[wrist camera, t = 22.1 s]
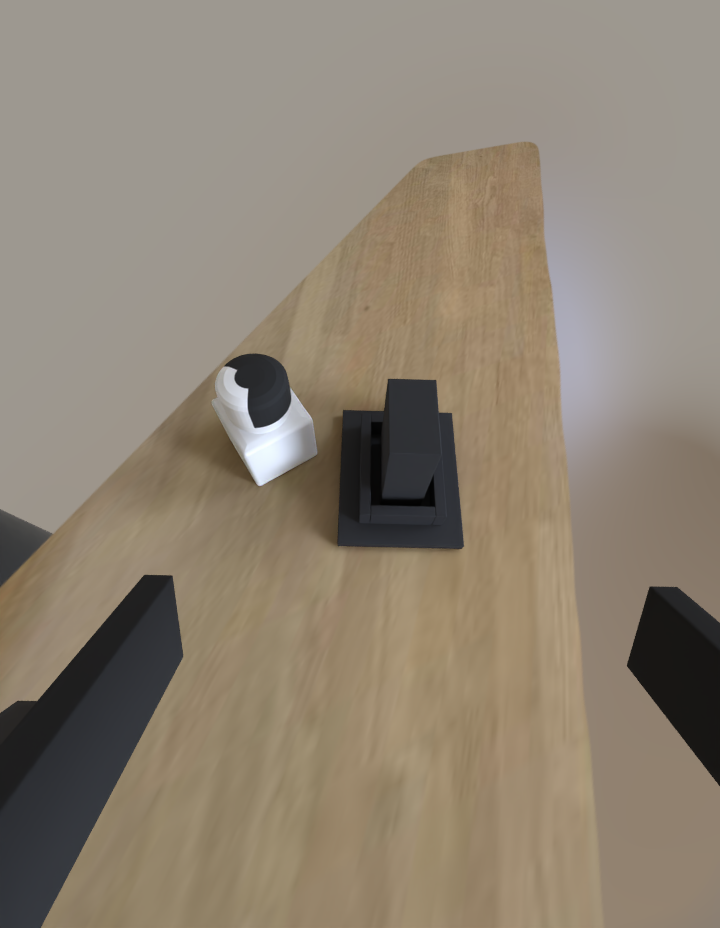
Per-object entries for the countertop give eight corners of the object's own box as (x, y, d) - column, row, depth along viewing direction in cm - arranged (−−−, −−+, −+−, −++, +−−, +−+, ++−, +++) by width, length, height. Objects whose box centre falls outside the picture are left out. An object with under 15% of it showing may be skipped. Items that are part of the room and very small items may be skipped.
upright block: (380, 505, 42) (389, 453, 32) (379, 443, 45) (388, 378, 35) (420, 506, 42) (442, 454, 32) (417, 444, 45) (436, 379, 35)
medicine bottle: (286, 407, 48) (268, 331, 37) (319, 455, 45) (309, 387, 34) (228, 437, 46) (191, 365, 35) (258, 488, 43) (228, 427, 33)
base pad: (337, 546, 41) (336, 535, 38) (343, 414, 48) (342, 396, 44) (461, 549, 41) (470, 538, 38) (449, 417, 48) (456, 399, 44)
